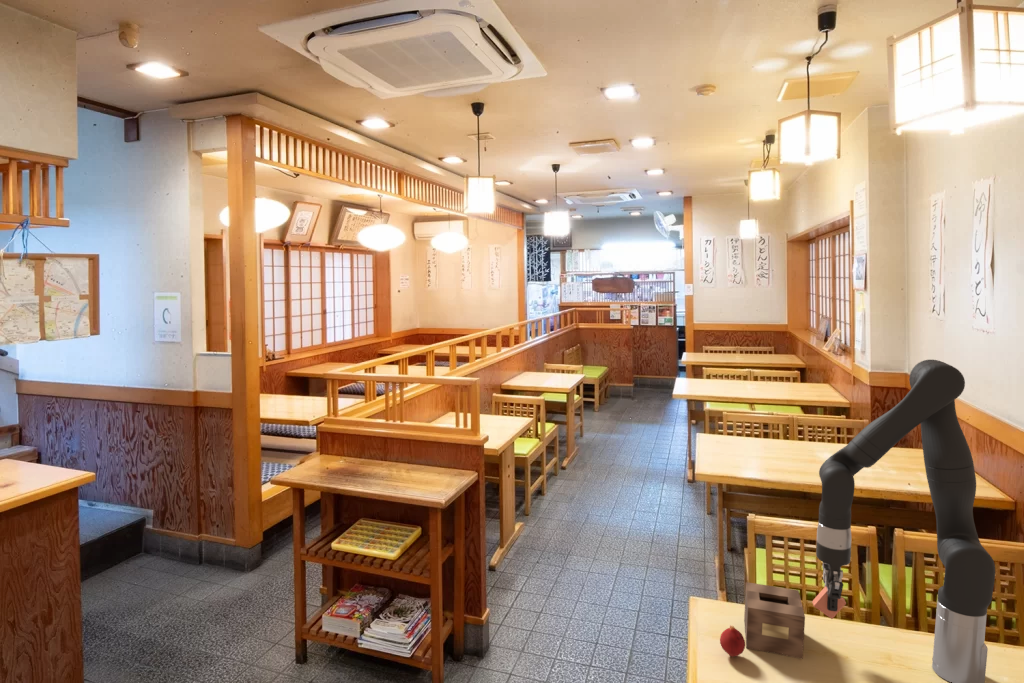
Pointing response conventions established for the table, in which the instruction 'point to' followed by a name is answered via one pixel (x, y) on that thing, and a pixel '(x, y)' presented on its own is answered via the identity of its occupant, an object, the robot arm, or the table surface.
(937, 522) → the robot arm
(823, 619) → the table surface
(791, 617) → the box
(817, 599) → the tall salmon pink box
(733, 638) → the red pomegranate
